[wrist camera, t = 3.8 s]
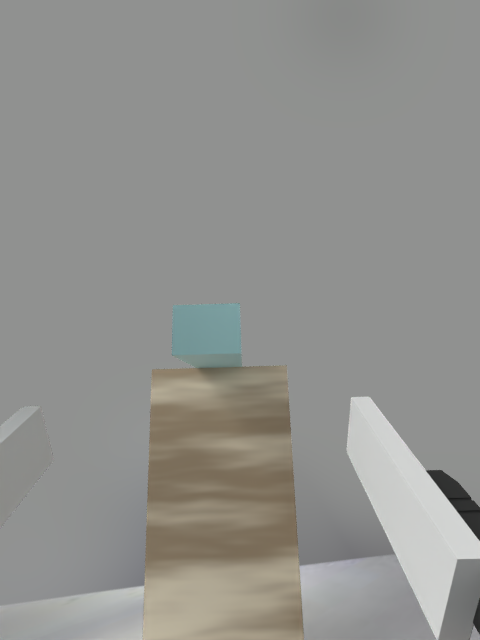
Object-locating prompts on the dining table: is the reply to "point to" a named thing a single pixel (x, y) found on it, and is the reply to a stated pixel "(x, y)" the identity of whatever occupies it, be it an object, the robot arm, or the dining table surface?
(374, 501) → the robot arm
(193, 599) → the wooden stand
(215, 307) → the teal block
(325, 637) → the dining table surface
